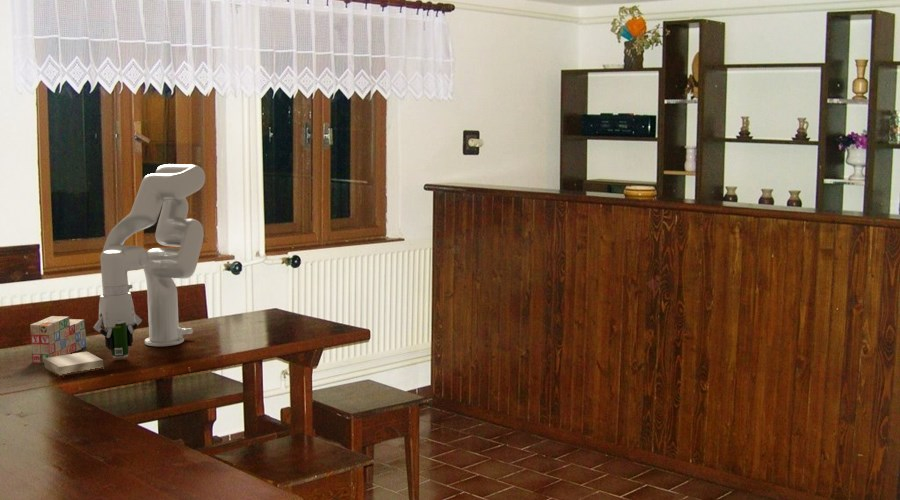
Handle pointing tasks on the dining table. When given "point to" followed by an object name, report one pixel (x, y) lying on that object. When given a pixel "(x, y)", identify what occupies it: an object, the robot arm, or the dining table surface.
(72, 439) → the dining table surface
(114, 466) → the dining table surface
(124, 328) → the beer can
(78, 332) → the stack of blocks
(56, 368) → the birch base block
